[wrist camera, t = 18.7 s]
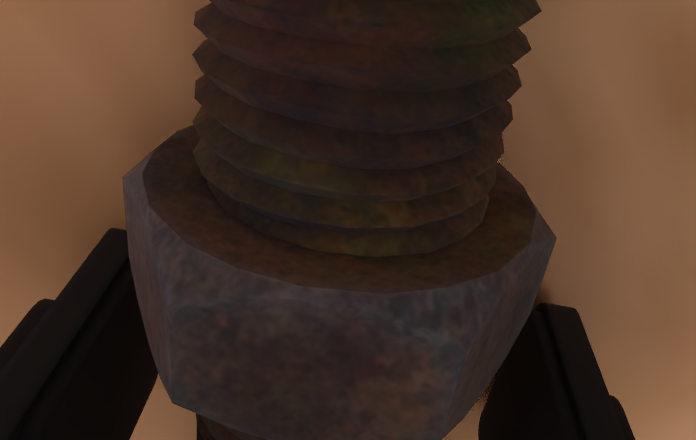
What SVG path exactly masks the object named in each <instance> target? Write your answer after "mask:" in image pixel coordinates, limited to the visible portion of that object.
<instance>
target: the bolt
mask: <svg viewBox="0 0 696 440" xmlns="http://www.w3.org/2000/svg"><path fill="white" fill-rule="evenodd" d="M210 1H211V2H212V3H210V4H209V5H207V6H205V7H204V8H202V9H200V10H199V11H197V12H195V20H194V25H195V26H196V27H197V28H198V29H199V30H200V31H201V32H202V33H203V34H204V35H205V36H206V37H207V38H208V39H207V40H205V41H204V42H203V43H202V44H201V45H200V46H199V47H198V48H197V50H196V51H195V52H194V53H193V54H192V55H193V57H194V58H195V60H196V62H197V64H198V65H199V67H200V69H201V70H202V72H203V73H204V74H205V75H204V76H202V77H201V78H199V79H198V80H196V84H195V96H194V98H195V99H196V100H197V101H198V102H199V103H200V104H201V105H202V107H201V109H200V110H199V112H198V114H197V115H196V117H195V119H194V120H193V123H194V125H193V126H190V127H187V128H185V129H182V130H179V131H177V132H176V133H175V134H174V135H172V136H171V137H170V138H169V139H167V140H166V141H165V142H163V143H162V144H161V145H160V146H158V147H157V148H156V149H155V150H153V151H152V152H151V153H150V154H149V155H148V156H146V157H145V158H144V159H143V160H142V161H141V162H140V163H138V164H137V165H136V166H135V167H134V168H133V169H131V170H130V171H129V172H128V173H127V174H126V175H124V176H123V189H124V201H125V214H126V227H127V240H128V252H129V260H130V265H131V270H132V275H133V280H134V285H135V290H136V295H137V300H138V304H139V308H140V312H141V315H142V319H143V323H144V327H145V331H146V335H147V339H148V343H149V346H150V349H151V352H152V355H153V358H154V361H155V364H156V367H157V370H158V373H159V376H160V378H161V381H162V383H163V385H164V387H165V389H166V391H167V393H168V395H169V397H170V399H171V401H172V403H173V404H176V405H178V406H181V407H183V408H185V409H188V410H190V411H192V412H195V413H196V418H197V440H442V439H443V438H444V437H445V436H446V435H447V434H448V433H449V432H450V431H451V430H452V429H453V428H454V427H455V426H456V425H457V424H458V423H459V422H460V421H461V420H463V418H464V417H465V416H466V414H467V413H468V412H469V411H470V409H471V408H472V407H473V405H474V404H475V403H476V402H477V400H478V399H479V398H480V396H481V395H482V394H483V393H484V391H485V390H486V388H487V387H488V385H489V383H490V382H491V380H492V379H493V377H494V375H495V374H496V372H497V371H498V369H499V368H500V366H501V364H502V363H503V361H504V360H505V358H506V356H507V355H508V353H509V351H510V350H511V348H512V346H513V344H514V342H515V341H516V339H517V337H518V335H519V333H520V331H521V330H522V328H523V326H524V324H525V322H526V321H527V319H528V317H529V315H530V313H531V311H532V308H533V305H534V302H535V299H536V296H537V293H538V290H539V287H540V284H541V282H542V279H543V276H544V273H545V270H546V267H547V264H548V261H549V258H550V256H551V253H552V250H553V247H554V244H555V241H556V236H555V235H554V233H553V232H552V230H551V229H550V227H549V226H548V224H547V223H546V222H545V220H544V219H543V217H542V216H541V214H540V213H539V211H538V210H537V208H536V207H535V205H534V204H533V202H532V201H531V199H530V198H529V196H528V194H527V192H526V190H525V188H524V187H523V186H522V185H521V184H520V183H519V182H518V181H517V180H516V179H515V178H514V177H513V176H512V175H511V174H510V173H509V172H508V171H507V170H506V169H505V168H504V167H503V166H502V165H500V164H499V163H497V162H496V161H497V160H498V159H499V158H500V156H501V155H502V154H503V152H504V147H503V139H502V132H503V130H504V129H505V128H506V127H507V126H508V124H509V123H510V122H511V121H512V120H513V117H512V108H511V105H510V103H509V102H508V101H507V99H509V98H510V97H511V96H512V95H513V94H514V93H515V92H516V91H517V90H518V89H519V88H520V87H521V86H522V84H521V81H520V78H519V75H518V71H517V69H516V68H515V67H514V66H513V65H512V64H513V63H515V62H516V61H517V60H519V59H520V58H521V57H522V56H524V55H525V54H526V53H528V52H529V51H530V50H531V47H530V45H529V43H528V40H527V38H526V36H525V35H524V34H523V33H522V32H521V31H520V30H519V28H518V27H520V26H521V25H523V24H524V23H526V22H527V21H529V20H530V19H532V18H533V17H534V16H536V15H537V14H538V13H540V12H541V9H540V7H539V5H538V3H537V2H536V0H210Z"/></svg>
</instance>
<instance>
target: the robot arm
mask: <svg viewBox="0 0 696 440" xmlns="http://www.w3.org/2000/svg"><path fill="white" fill-rule="evenodd" d="M157 376H158V370H157V367H156V364H155V361H154V358H153V355H152V352H151V349H150V346H149V343H148V339H147V335H146V331H145V327H144V323H143V319H142V315H141V312H140V308H139V304H138V300H137V295H136V290H135V285H134V280H133V275H132V270H131V265H130V260H129V252H128V240H127V230H122V229H117V228H111V229H109V230H108V231H107V232H106V234H105V235H104V236H103V238H102V239H101V240H100V241H99V243H98V244H97V245H96V247H95V248H94V249H93V251H92V252H91V253H90V255H89V256H88V257H87V259H86V260H85V261H84V263H83V264H82V265H81V267H80V268H79V269H78V271H77V272H76V273H75V275H74V276H73V277H72V278H71V280H70V281H69V282H68V284H67V285H66V286H65V288H64V289H63V290H62V292H61V293H60V294H59V296H58V297H57V298H56V300H50V299H43V300H41V301H38V302H37V303H36V304H35V305H34V306H33V307H32V308H31V310H30V311H29V312H28V313H27V315H26V316H25V317H24V318H23V320H22V321H21V322H20V323H19V325H18V326H17V327H16V328H15V330H14V331H13V332H12V333H11V335H10V336H9V337H8V339H7V340H6V341H5V342H4V344H3V345H2V346H1V347H0V440H129V439H130V437H131V435H132V433H133V430H134V428H135V426H136V424H137V422H138V419H139V417H140V415H141V413H142V411H143V408H144V406H145V404H146V402H147V400H148V397H149V395H150V393H151V391H152V389H153V386H154V384H155V382H156V379H157ZM478 436H479V440H635V438H634V435H633V433H632V430H631V428H630V425H629V422H628V420H627V417H626V415H625V412H624V410H623V408H622V406H621V404H620V402H619V401H618V400H617V399H616V398H615V397H614V396H610V395H609V393H608V390H607V388H606V385H605V382H604V380H603V377H602V374H601V372H600V369H599V366H598V364H597V361H596V358H595V356H594V353H593V350H592V348H591V345H590V343H589V340H588V337H587V335H586V332H585V329H584V327H583V324H582V321H581V319H580V316H579V314H578V312H577V310H576V309H574V308H570V307H565V306H559V305H553V304H547V303H539V304H538V305H537V306H536V307H535V309H534V310H532V311H531V313H530V315H529V317H528V319H527V321H526V322H525V324H524V326H523V328H522V330H521V331H520V333H519V335H518V337H517V339H516V341H515V342H514V344H513V346H512V348H511V350H510V351H509V353H508V355H507V356H506V358H505V360H504V361H503V363H502V365H501V368H500V370H499V373H498V375H497V377H496V380H495V382H494V385H493V387H492V390H491V392H490V394H489V397H488V399H487V402H486V404H485V407H484V409H483V411H482V414H481V417H480V421H479V429H478Z"/></svg>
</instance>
